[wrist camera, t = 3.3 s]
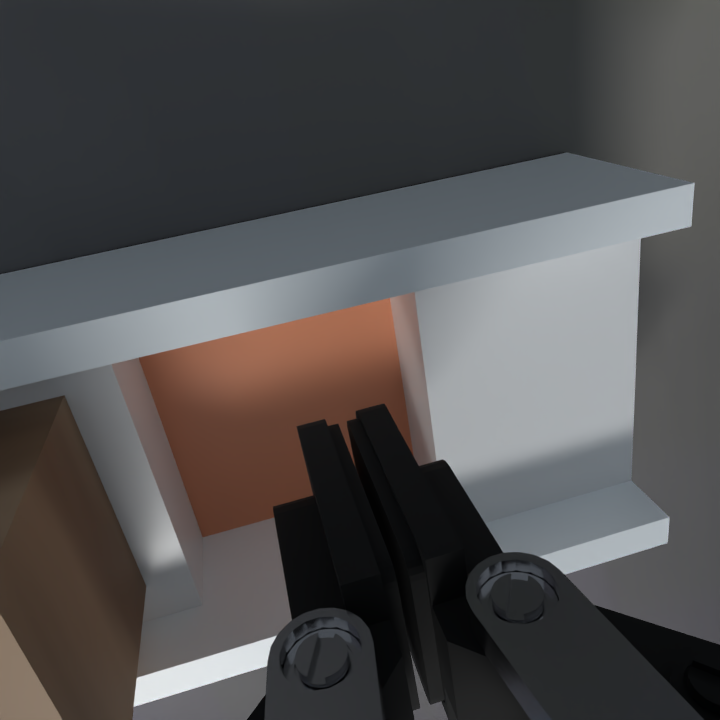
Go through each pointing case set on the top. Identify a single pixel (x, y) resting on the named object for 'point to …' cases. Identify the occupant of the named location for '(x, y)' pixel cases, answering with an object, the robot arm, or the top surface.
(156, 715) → the top surface
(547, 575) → the robot arm
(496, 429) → the trough
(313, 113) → the top surface
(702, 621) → the top surface
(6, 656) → the block
